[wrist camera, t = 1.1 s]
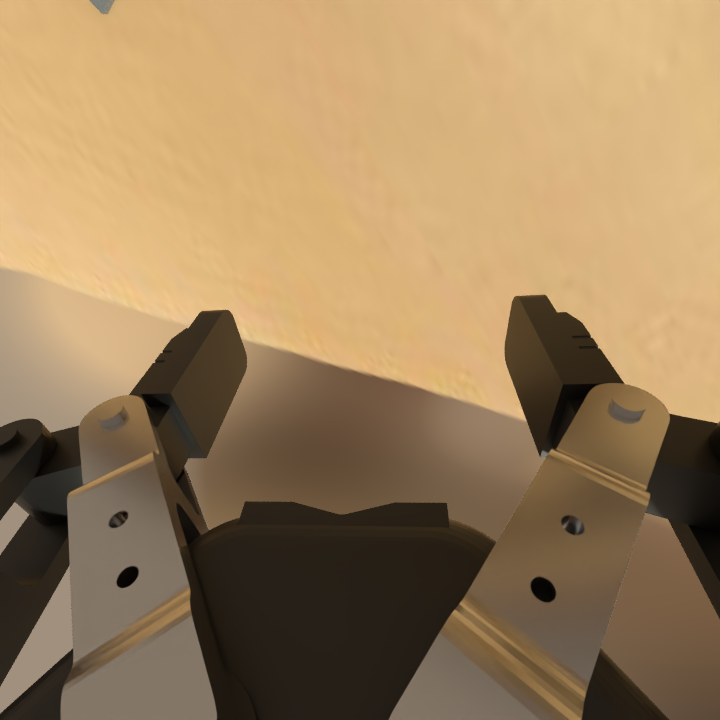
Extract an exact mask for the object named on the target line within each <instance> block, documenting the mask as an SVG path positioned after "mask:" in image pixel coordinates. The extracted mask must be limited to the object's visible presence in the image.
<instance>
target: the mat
mask: <svg viewBox="0 0 720 720" xmlns="http://www.w3.org/2000/svg"><path fill="white" fill-rule="evenodd" d="M90 1H91V3H92V4H93V5H94V6H95V7H96V8H97V9H98V10H99V11H100V12H101V13H103V14H108V12H109V10H110V8H111V6H112V4H113V2H114V0H90Z"/></svg>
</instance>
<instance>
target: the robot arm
mask: <svg viewBox="0 0 720 720" xmlns="http://www.w3.org/2000/svg"><path fill="white" fill-rule="evenodd" d="M505 360H506V365H507V368H508V370H509V373H510V376H511V379H512V381H513V384H514V387H515V390H516V392H517V395H518V398H519V401H520V403H521V406H522V409H523V412H524V414H525V417H526V420H527V423H528V425H529V428H530V431H531V434H532V436H533V439H534V442H535V445H536V447H537V450H538V453H539V455H540V457H546V459H545V460H544V462H543V464H542V466H541V467H540V469H539V470H538V472H537V474H536V476H535V477H534V479H533V481H532V482H531V484H530V486H529V488H528V490H527V491H526V493H525V494H524V496H523V498H522V500H521V501H520V503H519V505H518V506H517V508H516V510H515V511H514V513H513V515H512V517H511V518H510V520H509V522H508V524H507V525H506V527H505V529H504V530H503V532H502V534H501V535H500V537H499V539H498V540H497V542H496V541H495V540H493V539H491V538H490V537H489V536H487V535H486V534H484V533H482V532H480V531H478V530H477V529H475V528H473V527H471V526H468V525H465V524H463V523H461V522H458V521H454V520H450V519H449V518H448V510H447V503H391V504H388V505H383V506H379V507H375V508H370V509H366V510H362V511H358V512H354V513H349V514H345V515H340V514H335V513H331V512H327V511H324V510H320V509H317V508H313V507H309V506H306V505H302V504H298V503H295V502H245V504H244V507H243V510H242V513H241V516H240V518H237V519H234V520H231V521H228V522H226V523H223V524H221V525H219V526H217V527H215V528H213V529H211V530H209V529H208V527H207V524H206V522H205V519H204V516H203V514H202V511H201V508H200V505H199V502H198V499H197V497H196V494H195V491H194V488H193V486H192V483H191V480H190V477H189V474H188V473H187V470H186V469H185V467H184V466H185V464H186V462H187V460H188V458H207V456H208V453H209V451H210V449H211V447H212V445H213V442H214V440H215V438H216V435H217V434H218V431H219V429H220V427H221V425H222V423H223V420H224V418H225V416H226V414H227V411H228V409H229V407H230V405H231V403H232V401H233V398H234V396H235V394H236V392H237V389H238V387H239V385H240V383H241V380H242V378H243V376H244V374H245V371H246V367H247V356H246V352H245V349H244V346H243V343H242V340H241V337H240V334H239V332H238V329H237V326H236V323H235V320H234V317H233V315H232V313H231V312H230V311H229V310H214V311H202V312H200V313H199V315H198V316H197V317H196V319H195V320H194V321H193V323H192V324H191V326H190V327H189V328H186V329H185V330H183V331H182V332H181V333H179V334H178V335H176V336H175V337H174V338H172V339H171V340H170V342H169V343H168V344H167V346H166V347H165V348H164V350H163V353H161V354H160V355H159V356H158V357H157V359H156V360H155V363H153V364H152V365H151V367H150V368H149V369H148V371H147V372H146V373H145V375H144V376H143V377H142V379H141V380H140V381H139V382H138V384H137V385H136V386H135V388H134V389H133V390H132V392H131V393H130V394H129V395H125V396H119V397H116V398H112V399H110V400H108V401H106V402H103V403H102V404H100V405H98V406H97V407H95V408H94V409H92V410H91V411H90V412H89V413H88V414H87V415H86V416H85V417H84V418H83V419H82V421H81V423H80V425H79V426H76V427H72V428H68V429H64V430H60V431H56V432H52V433H50V432H49V431H48V430H47V428H46V427H45V426H44V425H43V424H42V423H41V422H40V421H39V420H36V419H22V420H19V421H15V422H12V423H9V424H7V425H4V426H3V427H0V520H1V519H2V517H3V516H4V515H5V514H6V512H7V511H8V510H9V508H10V507H11V506H12V505H13V503H14V502H16V503H17V504H18V505H19V506H20V507H21V508H23V509H24V510H25V511H26V512H27V513H29V514H30V515H29V516H28V517H27V519H26V520H25V522H24V523H23V524H22V526H21V527H20V528H19V530H18V531H17V533H16V534H15V536H14V537H13V538H12V540H11V541H10V542H9V544H8V545H7V546H6V548H5V549H4V551H3V552H2V553H1V555H0V686H1V684H2V682H3V681H4V679H5V677H6V675H7V674H8V672H9V670H10V669H11V667H12V665H13V663H14V662H15V659H16V658H17V656H18V655H19V653H20V651H21V649H22V648H23V645H24V644H25V642H26V640H27V639H28V637H29V635H30V633H31V632H32V630H33V628H34V626H35V625H36V623H37V621H38V619H39V618H40V616H41V614H42V612H43V611H44V609H45V607H46V605H47V603H48V602H49V600H50V598H51V597H52V595H53V593H54V591H55V590H56V588H57V586H58V584H59V583H60V581H61V579H62V577H63V576H64V574H65V572H66V570H67V569H68V567H69V565H70V585H71V607H72V608H71V609H72V632H73V649H72V650H71V651H70V652H68V653H67V654H66V655H65V656H64V657H63V658H62V659H61V660H60V661H58V662H57V663H56V664H55V665H54V666H53V667H52V668H51V669H50V670H48V671H47V672H46V673H45V674H44V675H43V676H42V677H41V678H39V679H38V680H37V681H36V682H35V683H34V684H33V685H32V686H31V687H29V688H28V689H27V690H26V691H25V692H24V693H23V694H22V695H21V696H19V698H17V699H16V700H15V701H14V702H13V703H12V704H11V705H10V706H8V707H7V708H6V709H5V710H4V711H3V712H2V713H1V714H0V720H669V719H668V718H667V717H666V716H665V715H664V714H663V712H661V710H660V709H659V708H658V707H657V706H656V705H655V704H654V703H653V702H652V701H651V700H650V699H649V698H648V697H647V696H646V695H645V694H644V693H643V692H642V691H641V690H640V688H639V687H638V686H637V685H636V684H635V683H634V682H633V681H632V680H631V679H630V678H629V677H628V676H627V675H626V674H625V673H624V672H623V671H622V670H621V669H620V668H619V667H618V666H617V664H616V663H615V662H614V661H613V660H612V659H611V658H610V657H609V656H608V655H607V654H606V653H605V652H604V651H603V650H602V649H601V645H602V642H603V639H604V636H605V633H606V630H607V627H608V624H609V621H610V618H611V615H612V612H613V609H614V606H615V603H616V600H617V597H618V594H619V590H620V588H621V585H622V581H623V578H624V575H625V573H626V570H627V566H628V563H629V560H630V557H631V554H632V551H633V548H634V545H635V542H636V539H637V536H638V533H639V530H640V527H641V524H642V521H643V518H644V515H645V513H649V514H652V515H656V516H660V517H663V518H667V519H668V520H669V522H670V524H671V526H672V528H673V530H674V532H675V534H676V536H677V537H678V539H679V541H680V543H681V545H682V547H683V549H684V551H685V553H686V555H687V557H688V559H689V561H690V563H691V564H692V566H693V568H694V570H695V572H696V574H697V576H698V578H699V580H700V582H701V584H702V586H703V588H704V590H705V591H706V593H707V595H708V597H709V599H710V601H711V603H712V605H713V607H714V609H715V611H716V613H717V615H718V616H719V618H720V422H719V423H713V422H708V421H703V420H697V419H692V418H687V417H682V416H677V415H673V414H669V412H668V410H667V408H666V407H665V405H664V404H663V403H662V402H661V401H660V400H659V399H657V398H656V397H655V396H653V395H652V394H650V393H649V392H647V391H645V390H642V389H640V388H637V387H634V386H631V385H627V384H624V382H623V381H622V380H621V378H620V377H619V375H618V374H617V372H616V371H615V369H614V368H613V367H612V365H611V364H610V362H609V361H608V359H607V358H606V357H605V355H604V354H603V352H602V351H601V349H598V345H597V344H596V342H595V341H594V339H593V338H591V335H590V334H589V332H588V331H587V329H586V328H585V326H584V325H583V323H582V322H580V321H579V320H577V319H576V318H574V317H573V316H571V315H570V314H568V313H567V312H559V313H557V312H556V310H555V309H554V307H553V305H552V304H551V302H550V301H549V299H548V297H547V296H546V295H529V296H515V297H514V299H513V301H512V306H511V311H510V317H509V323H508V329H507V335H506V340H505Z"/></svg>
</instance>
